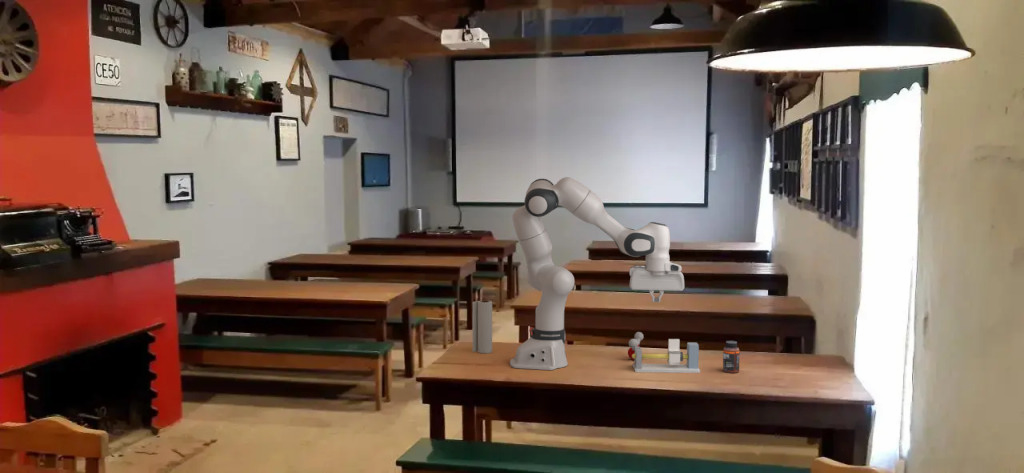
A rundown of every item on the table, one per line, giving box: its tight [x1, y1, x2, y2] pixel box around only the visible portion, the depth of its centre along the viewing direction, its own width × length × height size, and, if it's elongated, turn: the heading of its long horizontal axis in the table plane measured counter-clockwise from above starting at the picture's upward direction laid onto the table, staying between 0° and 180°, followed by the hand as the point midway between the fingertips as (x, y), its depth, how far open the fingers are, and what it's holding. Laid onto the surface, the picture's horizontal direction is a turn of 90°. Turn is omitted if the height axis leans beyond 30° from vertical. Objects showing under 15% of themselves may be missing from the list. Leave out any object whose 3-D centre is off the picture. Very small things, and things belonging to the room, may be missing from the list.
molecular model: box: [627, 331, 644, 361], centre depth 314 cm, size 18×6×10 cm, turn 162°
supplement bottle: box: [722, 340, 741, 374], centre depth 296 cm, size 6×6×11 cm
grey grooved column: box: [472, 300, 493, 354], centre depth 327 cm, size 7×6×21 cm
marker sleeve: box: [666, 338, 681, 365], centre depth 299 cm, size 4×5×9 cm
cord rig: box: [632, 341, 701, 374], centre depth 299 cm, size 25×9×10 cm, turn 88°
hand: (656, 302), depth 298 cm, fingers closed
